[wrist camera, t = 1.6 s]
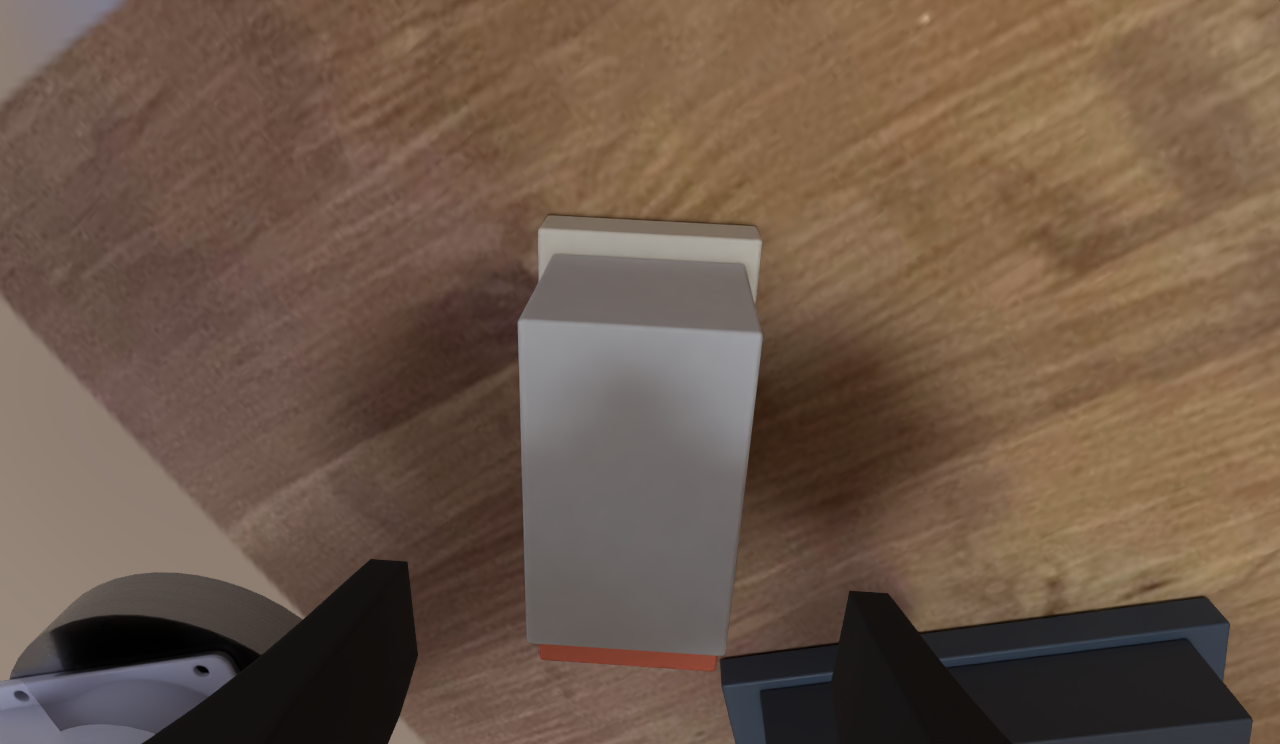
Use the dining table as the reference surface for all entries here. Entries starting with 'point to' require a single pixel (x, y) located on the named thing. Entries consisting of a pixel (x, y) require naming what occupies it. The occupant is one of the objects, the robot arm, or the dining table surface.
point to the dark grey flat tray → (1032, 680)
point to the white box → (636, 437)
